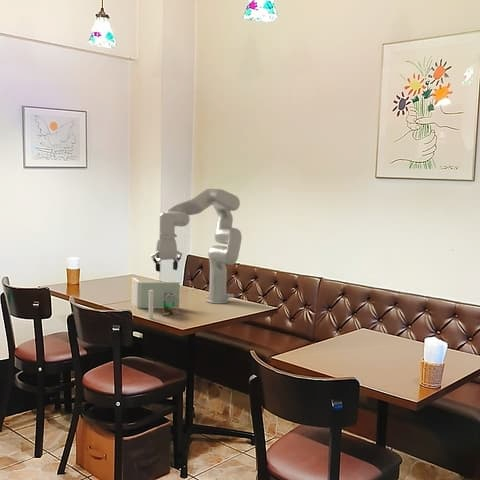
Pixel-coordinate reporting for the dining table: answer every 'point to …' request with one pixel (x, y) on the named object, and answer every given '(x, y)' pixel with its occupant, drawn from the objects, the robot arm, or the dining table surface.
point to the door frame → (137, 296)
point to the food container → (168, 303)
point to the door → (158, 293)
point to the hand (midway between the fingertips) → (166, 270)
